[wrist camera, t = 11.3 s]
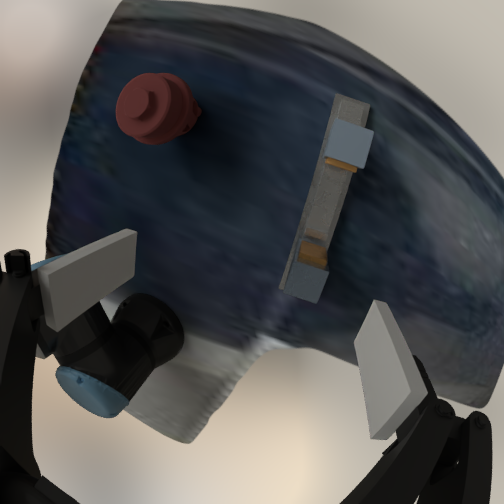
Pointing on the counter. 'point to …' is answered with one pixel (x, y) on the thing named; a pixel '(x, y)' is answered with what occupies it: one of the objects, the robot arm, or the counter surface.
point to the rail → (321, 213)
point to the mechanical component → (156, 108)
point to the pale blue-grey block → (347, 146)
